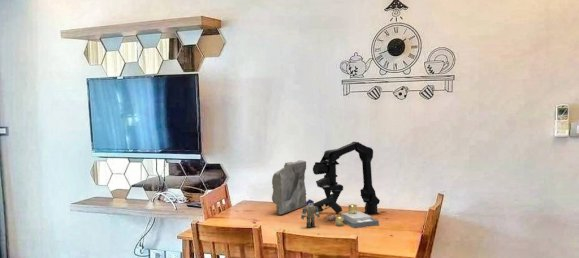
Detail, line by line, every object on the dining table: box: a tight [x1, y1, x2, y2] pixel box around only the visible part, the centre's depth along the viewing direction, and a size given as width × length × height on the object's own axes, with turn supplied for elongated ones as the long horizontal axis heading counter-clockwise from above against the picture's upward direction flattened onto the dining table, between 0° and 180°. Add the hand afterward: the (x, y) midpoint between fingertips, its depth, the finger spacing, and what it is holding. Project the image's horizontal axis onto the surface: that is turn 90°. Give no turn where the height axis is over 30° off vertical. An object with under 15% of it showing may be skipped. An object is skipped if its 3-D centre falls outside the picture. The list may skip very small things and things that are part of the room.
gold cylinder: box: [334, 215, 345, 227], centre depth 247 cm, size 4×4×4 cm
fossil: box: [271, 159, 307, 215], centre depth 287 cm, size 34×9×30 cm, turn 153°
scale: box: [340, 210, 380, 229], centre depth 252 cm, size 15×19×4 cm
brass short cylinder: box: [348, 204, 358, 214], centre depth 257 cm, size 4×4×4 cm
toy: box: [300, 199, 321, 229], centre depth 244 cm, size 10×4×15 cm, turn 114°
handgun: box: [313, 193, 343, 215], centre depth 276 cm, size 2×17×12 cm, turn 78°
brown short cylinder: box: [327, 213, 336, 222], centre depth 259 cm, size 4×4×3 cm
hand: (331, 200), depth 258 cm, fingers open, 9 cm apart
